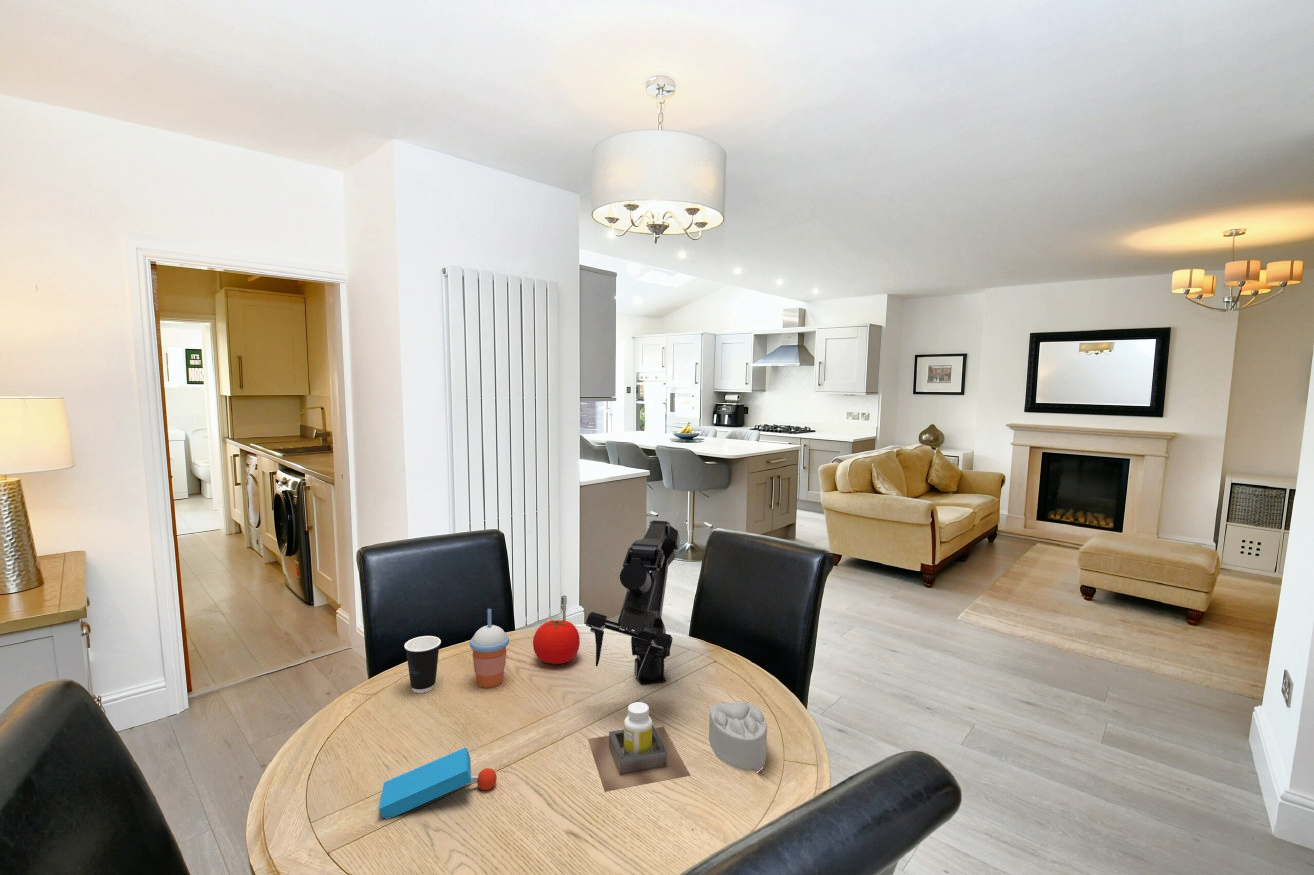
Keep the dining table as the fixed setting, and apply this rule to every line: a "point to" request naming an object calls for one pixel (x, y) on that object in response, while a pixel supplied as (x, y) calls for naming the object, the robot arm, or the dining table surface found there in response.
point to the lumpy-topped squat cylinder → (738, 735)
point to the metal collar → (637, 754)
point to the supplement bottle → (637, 729)
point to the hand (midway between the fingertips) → (617, 672)
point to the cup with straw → (489, 654)
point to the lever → (431, 783)
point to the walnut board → (616, 781)
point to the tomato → (556, 642)
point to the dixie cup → (422, 662)
